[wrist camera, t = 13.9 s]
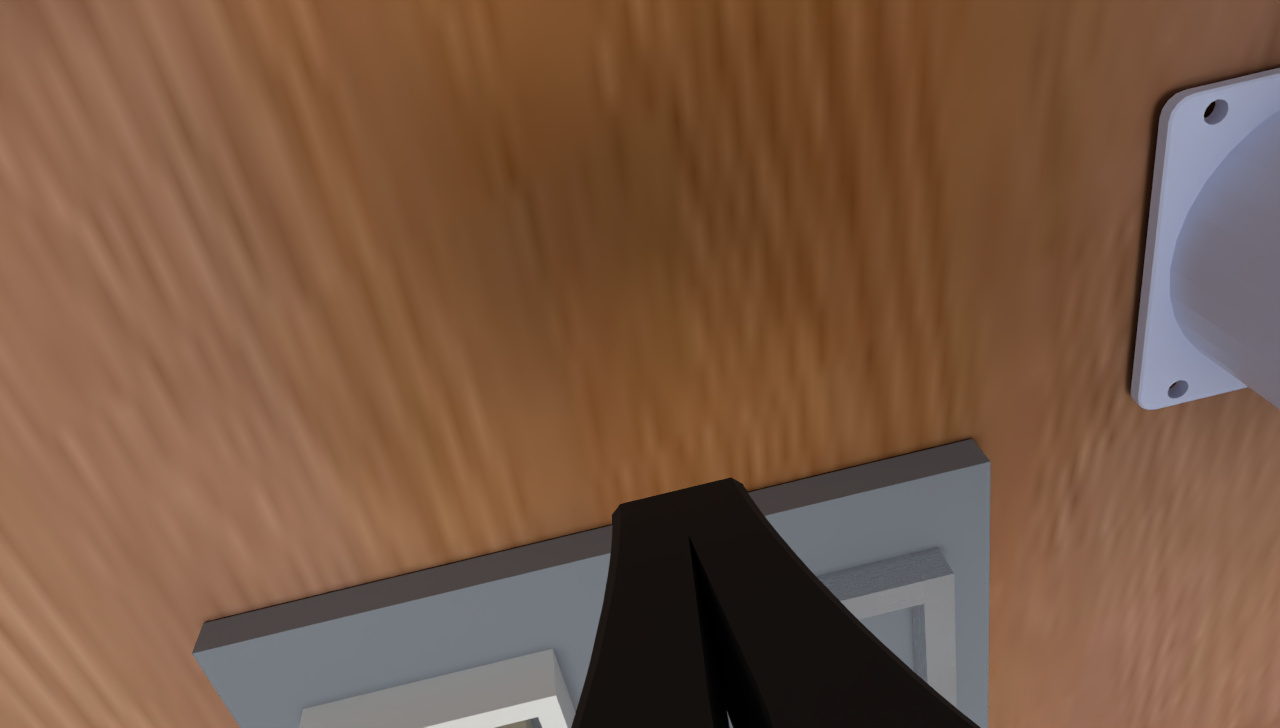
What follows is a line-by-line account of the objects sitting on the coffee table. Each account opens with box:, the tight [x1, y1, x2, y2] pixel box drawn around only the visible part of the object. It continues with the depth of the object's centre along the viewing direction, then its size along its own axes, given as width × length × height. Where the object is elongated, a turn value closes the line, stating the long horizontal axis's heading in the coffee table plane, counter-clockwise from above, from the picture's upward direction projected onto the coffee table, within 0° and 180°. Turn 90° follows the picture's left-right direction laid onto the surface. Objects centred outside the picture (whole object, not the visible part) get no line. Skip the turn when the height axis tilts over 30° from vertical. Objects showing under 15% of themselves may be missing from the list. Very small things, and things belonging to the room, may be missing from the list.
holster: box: [816, 547, 957, 708], centre depth 25 cm, size 7×7×1 cm
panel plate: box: [192, 439, 991, 728], centre depth 26 cm, size 20×12×1 cm, turn 101°
